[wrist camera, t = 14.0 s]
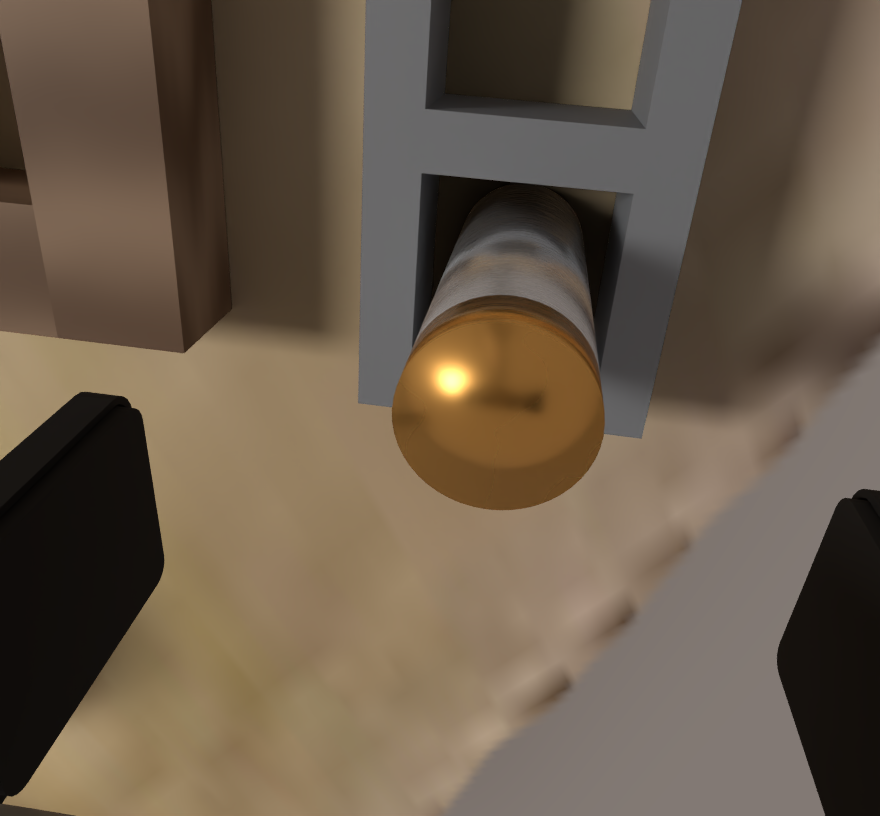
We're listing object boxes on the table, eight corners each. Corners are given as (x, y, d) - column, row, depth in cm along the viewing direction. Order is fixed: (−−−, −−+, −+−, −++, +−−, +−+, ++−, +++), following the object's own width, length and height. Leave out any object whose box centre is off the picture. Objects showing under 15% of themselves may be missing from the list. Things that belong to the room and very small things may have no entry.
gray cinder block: (403, -211, 19) (370, -260, 16) (751, -192, 19) (797, -239, 15) (383, 352, 27) (358, 402, 24) (629, 381, 26) (641, 438, 23)
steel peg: (465, 177, 24) (396, 311, 13) (592, 189, 23) (623, 337, 13) (456, 296, 26) (388, 495, 15) (572, 309, 25) (585, 522, 15)
